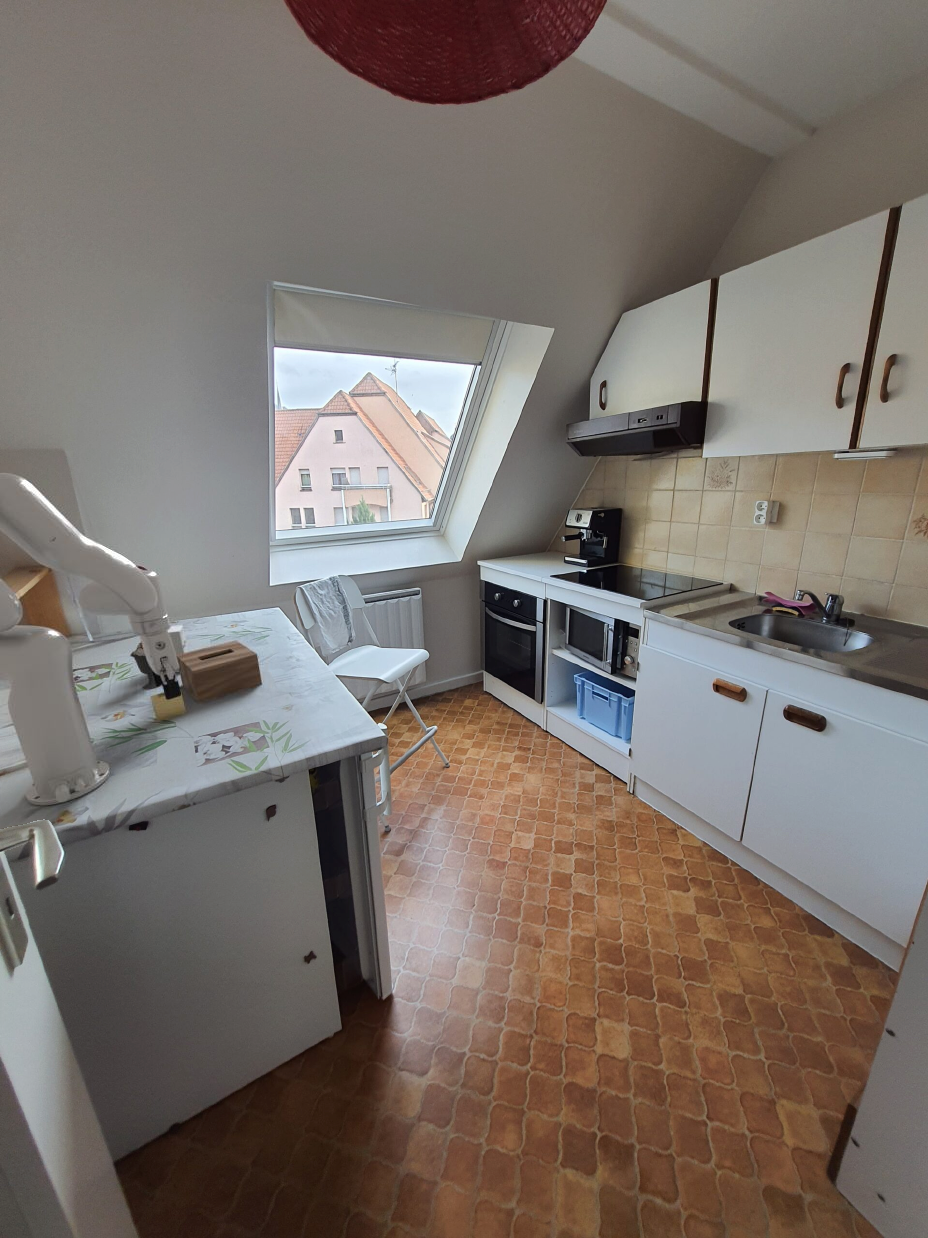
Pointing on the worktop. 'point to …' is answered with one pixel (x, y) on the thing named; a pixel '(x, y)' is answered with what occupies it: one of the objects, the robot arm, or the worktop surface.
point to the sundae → (144, 666)
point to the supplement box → (178, 640)
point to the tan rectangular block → (167, 706)
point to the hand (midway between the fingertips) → (168, 690)
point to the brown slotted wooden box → (219, 670)
